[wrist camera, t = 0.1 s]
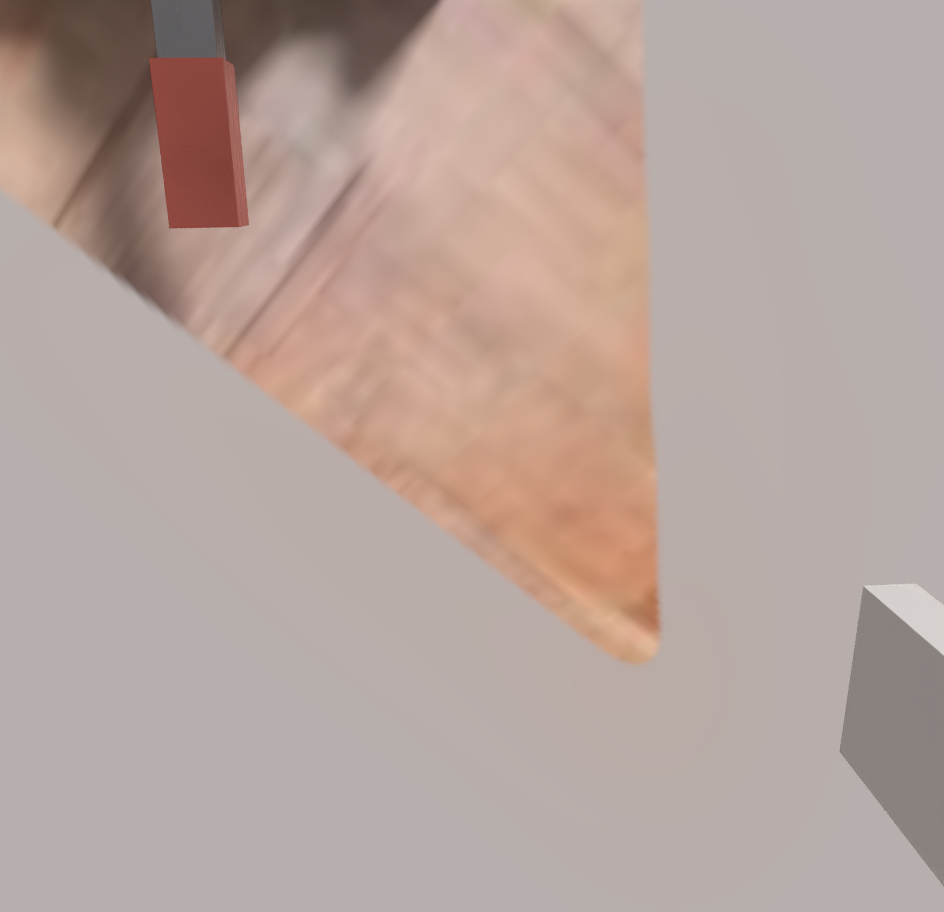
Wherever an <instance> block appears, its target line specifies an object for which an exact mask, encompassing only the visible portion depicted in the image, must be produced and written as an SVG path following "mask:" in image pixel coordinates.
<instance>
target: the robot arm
mask: <svg viewBox="0 0 944 912" xmlns="http://www.w3.org/2000/svg"><path fill="white" fill-rule="evenodd" d="M840 753H841V754H842V755H843V756H844V758H845V759H846V760H847V762H848V763H849V764H850V766H851V767H852V768H853V769H854V771H855V772H856V773H857V775H858V776H859V777H860V778H861V780H862V781H863V782H864V784H865V785H866V786H867V787H868V789H869V790H870V791H871V793H872V794H873V795H874V797H875V798H876V799H877V800H878V802H879V803H880V804H881V806H882V807H883V808H884V810H885V811H886V812H887V813H888V814H889V816H890V817H891V818H892V820H893V821H894V823H895V824H896V825H897V826H898V828H899V829H900V830H901V832H902V833H903V834H904V835H905V837H906V838H907V839H908V840H909V842H910V843H911V845H912V846H913V847H914V848H915V850H916V851H917V852H918V854H919V855H920V856H921V857H922V859H923V860H924V861H925V862H926V864H927V865H928V867H929V868H930V869H931V870H932V872H933V873H934V874H935V875H936V877H937V878H938V880H939V881H940V882H941V883H942V885H943V886H944V605H943V604H941V603H940V602H939V601H937V600H936V599H935V598H933V597H932V596H931V595H930V594H928V593H927V592H926V591H925V590H923V589H922V588H921V587H919V586H918V585H917V584H896V585H874V586H863V592H862V599H861V606H860V613H859V620H858V627H857V634H856V641H855V648H854V655H853V662H852V669H851V676H850V683H849V690H848V697H847V703H846V711H845V717H844V724H843V732H842V738H841V745H840Z"/></svg>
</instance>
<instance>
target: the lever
mask: <svg viewBox="0 0 944 912" xmlns="http://www.w3.org/2000/svg"><path fill="white" fill-rule="evenodd" d="M151 7H152V16H153V24H154V33H155V41H156V50H157V58H149V62H150V70H151V79H152V87H153V95H154V104H155V112H156V120H157V128H158V137H159V145H160V153H161V162H162V170H163V178H164V186H165V195H166V203H167V211H168V220H169V228H210V227H241V226H246V225H249V221H248V210H247V199H246V189H245V178H244V167H243V156H242V145H241V135H240V124H239V113H238V102H237V92H236V81H235V70H234V65H232V64H231V63H230V62H228V61H227V60H226V53H225V43H224V32H223V22H222V11H221V1H220V0H151Z"/></svg>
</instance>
